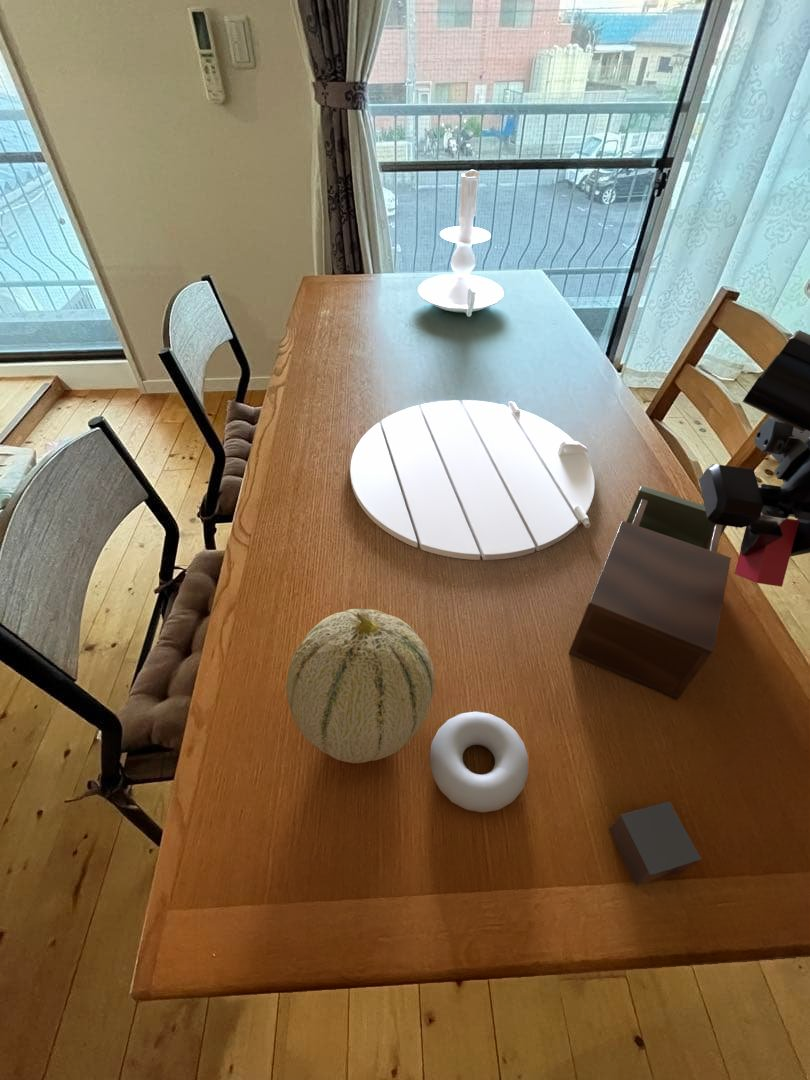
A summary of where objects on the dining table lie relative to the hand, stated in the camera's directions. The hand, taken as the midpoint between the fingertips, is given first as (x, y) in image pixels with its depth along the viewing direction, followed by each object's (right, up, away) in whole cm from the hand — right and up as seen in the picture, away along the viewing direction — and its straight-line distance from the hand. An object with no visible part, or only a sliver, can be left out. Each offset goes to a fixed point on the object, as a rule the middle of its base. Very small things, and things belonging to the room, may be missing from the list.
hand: (756, 554), depth 60 cm
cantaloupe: (-43, -18, +1) cm, 46 cm away
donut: (-31, -22, -3) cm, 38 cm away
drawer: (-4, -2, +15) cm, 16 cm away
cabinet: (-10, -10, +9) cm, 16 cm away
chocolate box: (0, -3, -1) cm, 3 cm away
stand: (-16, -27, -9) cm, 33 cm away
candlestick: (-25, +58, +74) cm, 97 cm away
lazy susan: (-27, +13, +30) cm, 43 cm away
